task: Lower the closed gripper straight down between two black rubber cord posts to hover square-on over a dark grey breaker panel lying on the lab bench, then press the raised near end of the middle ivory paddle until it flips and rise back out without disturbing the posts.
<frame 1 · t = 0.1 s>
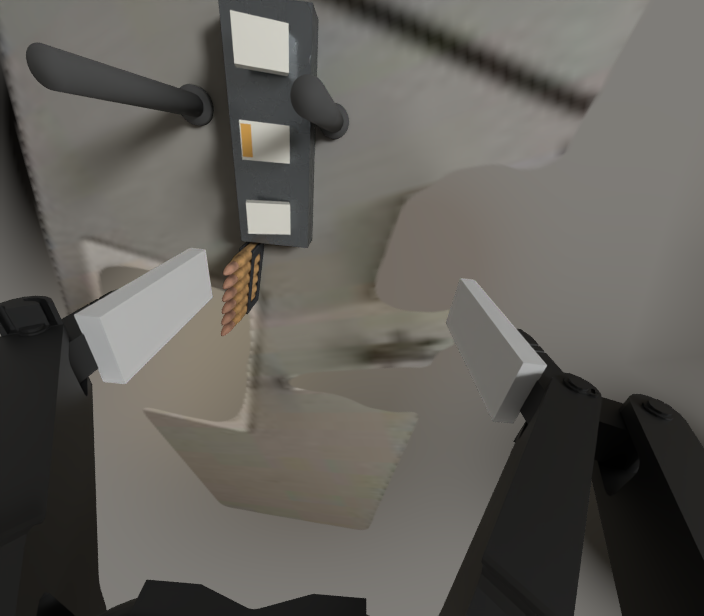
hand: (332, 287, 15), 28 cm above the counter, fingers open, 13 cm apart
ammunition clip: (255, 269, 45), on the counter
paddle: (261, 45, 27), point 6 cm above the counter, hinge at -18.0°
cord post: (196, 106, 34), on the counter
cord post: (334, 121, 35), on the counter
breaker panel: (279, 143, 36), on the counter
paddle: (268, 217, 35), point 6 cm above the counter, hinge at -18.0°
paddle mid: (265, 142, 31), point 6 cm above the counter, hinge at -18.0°
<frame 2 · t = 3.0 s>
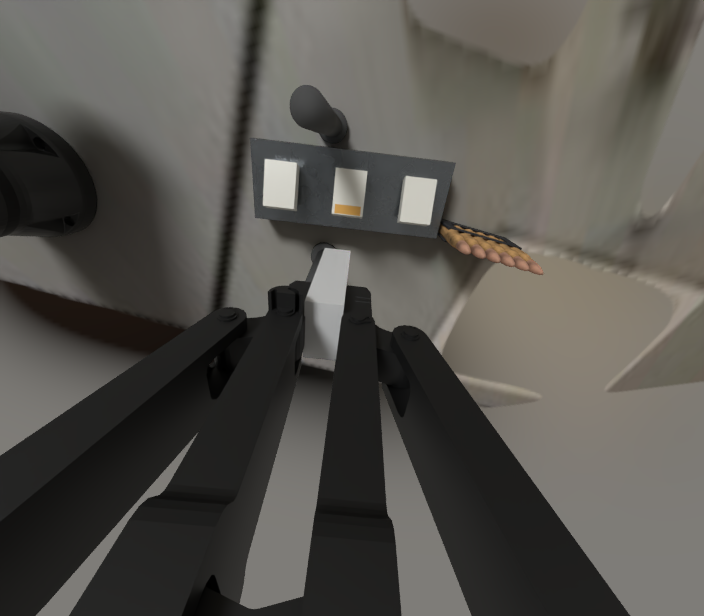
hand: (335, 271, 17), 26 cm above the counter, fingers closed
ammunition clip: (469, 233, 41), on the counter
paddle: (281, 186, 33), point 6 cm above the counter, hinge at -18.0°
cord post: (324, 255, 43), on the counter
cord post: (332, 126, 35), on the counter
breaker panel: (351, 187, 39), on the counter
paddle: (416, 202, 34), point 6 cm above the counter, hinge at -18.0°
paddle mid: (349, 194, 33), point 6 cm above the counter, hinge at -18.0°
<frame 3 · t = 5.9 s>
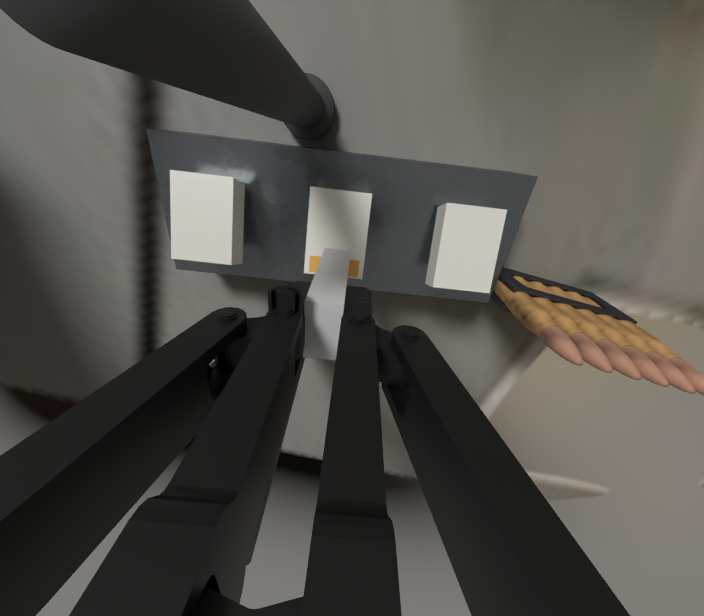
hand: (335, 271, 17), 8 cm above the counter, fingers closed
ammunition clip: (533, 286, 26), on the counter
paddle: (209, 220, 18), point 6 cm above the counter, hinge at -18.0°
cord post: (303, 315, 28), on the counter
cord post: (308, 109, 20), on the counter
breaker panel: (343, 215, 23), on the counter
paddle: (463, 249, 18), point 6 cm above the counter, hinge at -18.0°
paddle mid: (337, 235, 18), point 6 cm above the counter, hinge at -18.0°, touching gripper
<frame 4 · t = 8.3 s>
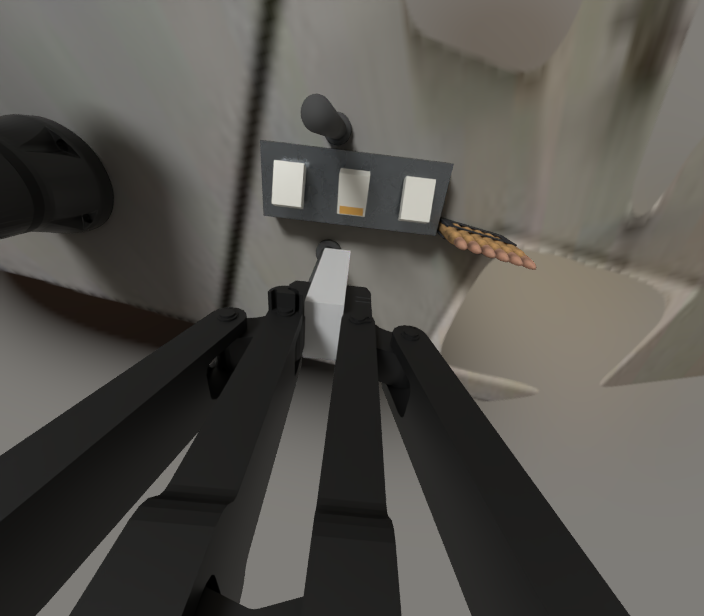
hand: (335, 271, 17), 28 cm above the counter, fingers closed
ammunition clip: (467, 231, 43), on the counter
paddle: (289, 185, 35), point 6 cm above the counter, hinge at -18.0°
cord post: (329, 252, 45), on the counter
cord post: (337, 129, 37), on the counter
breaker panel: (354, 187, 41), on the counter
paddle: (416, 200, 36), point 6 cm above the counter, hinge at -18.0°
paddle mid: (353, 193, 35), point 6 cm above the counter, hinge at 14.6°
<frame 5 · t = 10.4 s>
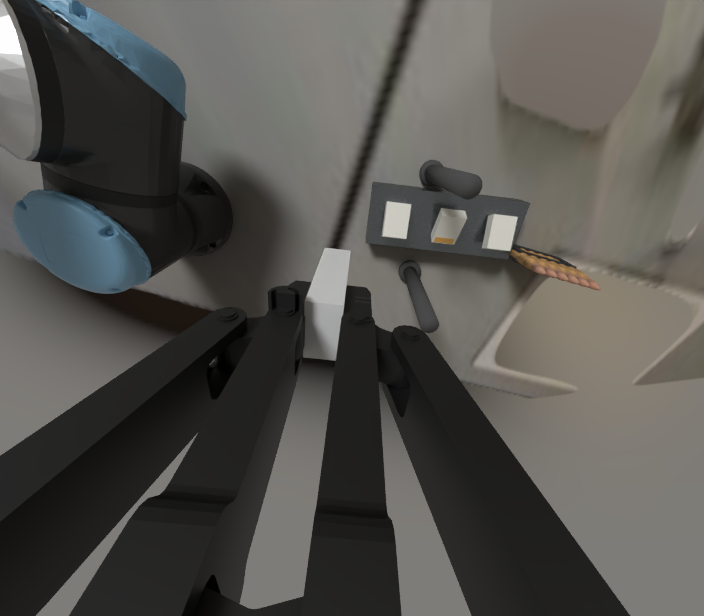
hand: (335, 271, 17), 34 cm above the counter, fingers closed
ammunition clip: (529, 254, 51), on the counter
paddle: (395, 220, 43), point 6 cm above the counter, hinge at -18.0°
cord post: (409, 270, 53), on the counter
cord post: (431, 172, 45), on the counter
breaker panel: (438, 218, 48), on the counter
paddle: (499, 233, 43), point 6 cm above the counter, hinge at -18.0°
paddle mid: (447, 227, 43), point 6 cm above the counter, hinge at 25.4°
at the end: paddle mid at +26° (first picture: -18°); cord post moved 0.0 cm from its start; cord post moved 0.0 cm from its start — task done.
